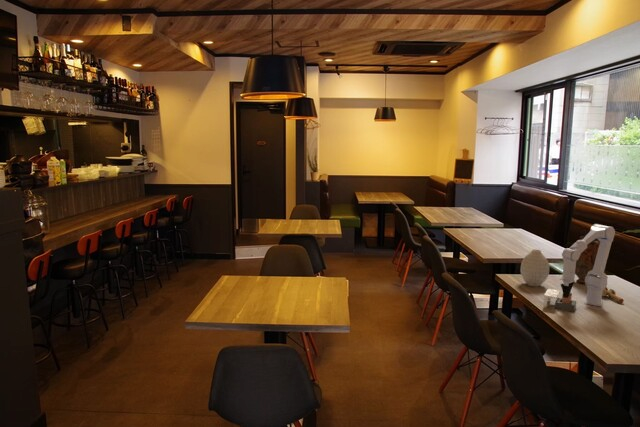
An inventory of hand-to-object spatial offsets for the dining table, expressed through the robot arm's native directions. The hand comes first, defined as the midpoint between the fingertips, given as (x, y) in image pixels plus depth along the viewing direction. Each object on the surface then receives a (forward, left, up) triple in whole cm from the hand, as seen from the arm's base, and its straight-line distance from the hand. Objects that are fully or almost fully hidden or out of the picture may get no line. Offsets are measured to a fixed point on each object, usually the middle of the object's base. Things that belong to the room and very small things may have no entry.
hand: (566, 295), depth 255 cm
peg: (0, 0, -7) cm, 7 cm away
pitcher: (-59, +5, -7) cm, 60 cm away
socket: (0, 0, -7) cm, 7 cm away
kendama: (-34, +19, -7) cm, 40 cm away
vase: (-35, -22, -7) cm, 42 cm away
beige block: (0, -7, -7) cm, 10 cm away
